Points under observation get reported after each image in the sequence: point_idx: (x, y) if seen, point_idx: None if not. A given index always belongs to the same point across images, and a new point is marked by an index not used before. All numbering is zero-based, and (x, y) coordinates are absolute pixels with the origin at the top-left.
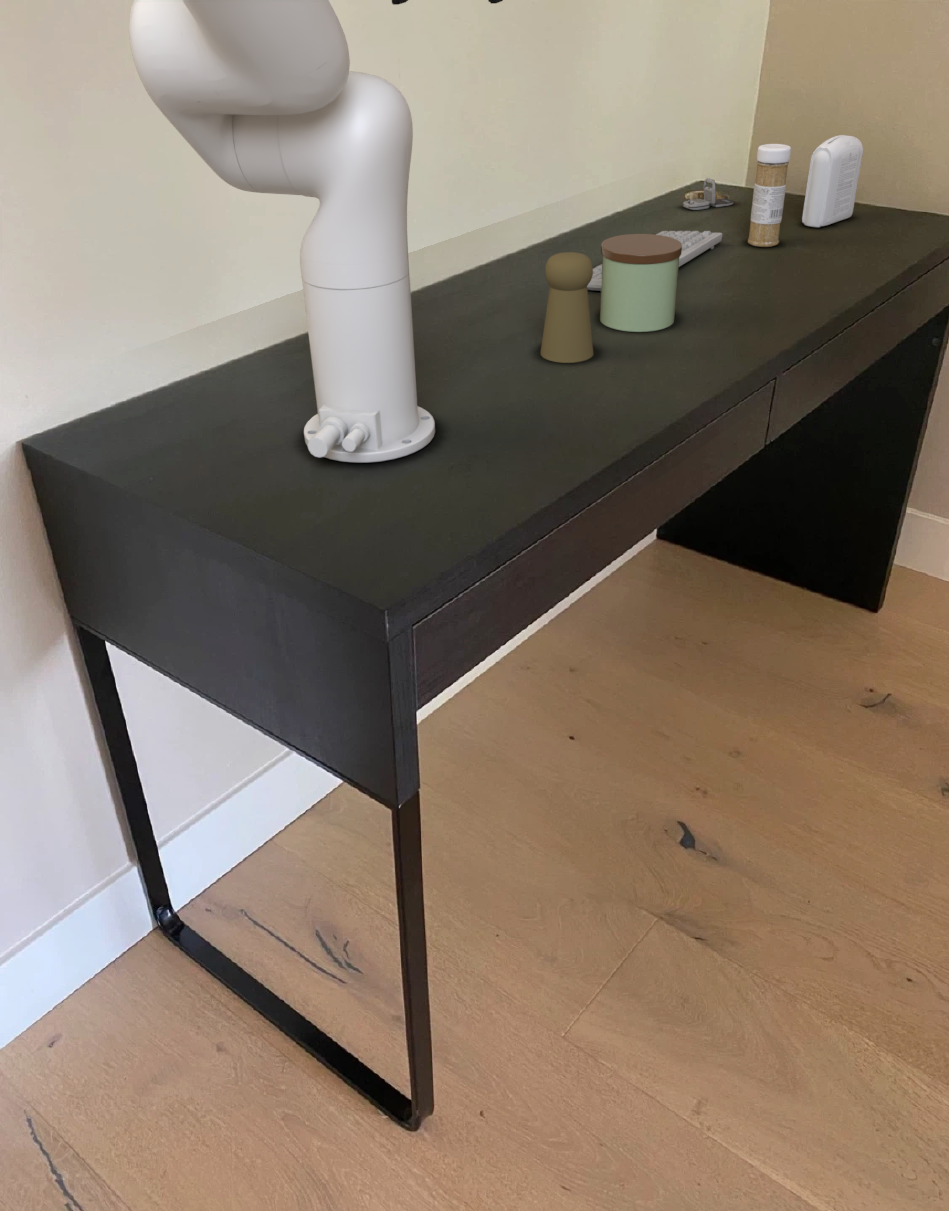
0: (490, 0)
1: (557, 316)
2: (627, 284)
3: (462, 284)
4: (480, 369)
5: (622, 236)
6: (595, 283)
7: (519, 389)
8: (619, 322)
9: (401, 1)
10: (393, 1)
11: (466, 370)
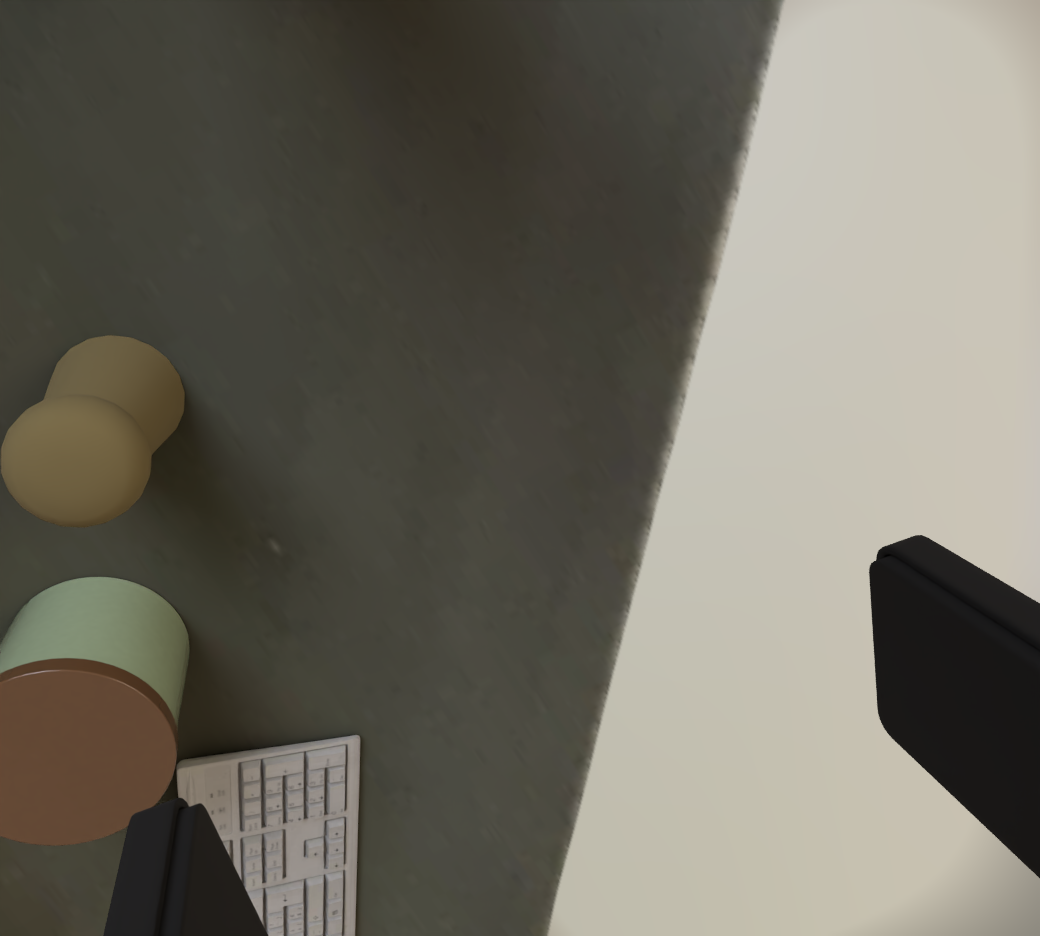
0: (172, 801)
1: (94, 373)
2: (56, 633)
3: (568, 646)
4: (241, 214)
5: (150, 789)
6: (285, 756)
7: (79, 138)
8: (93, 585)
9: (873, 598)
10: (910, 540)
11: (267, 194)
